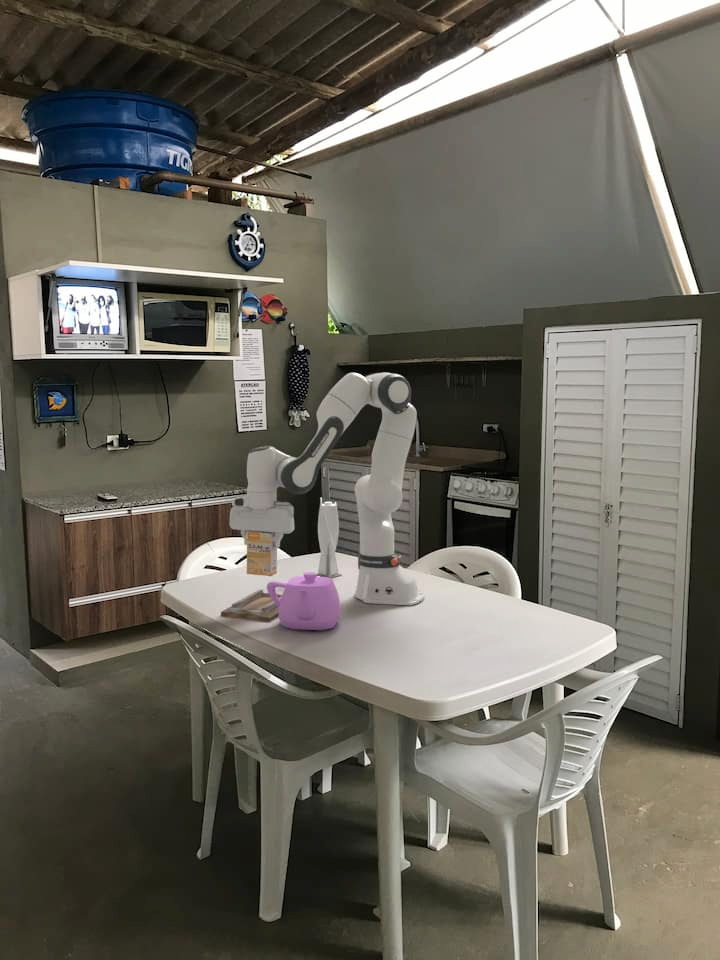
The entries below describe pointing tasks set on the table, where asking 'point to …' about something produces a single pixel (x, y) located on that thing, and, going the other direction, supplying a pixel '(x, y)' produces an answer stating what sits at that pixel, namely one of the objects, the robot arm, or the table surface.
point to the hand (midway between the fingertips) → (262, 545)
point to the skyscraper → (328, 539)
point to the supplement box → (261, 553)
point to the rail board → (254, 607)
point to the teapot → (307, 602)
